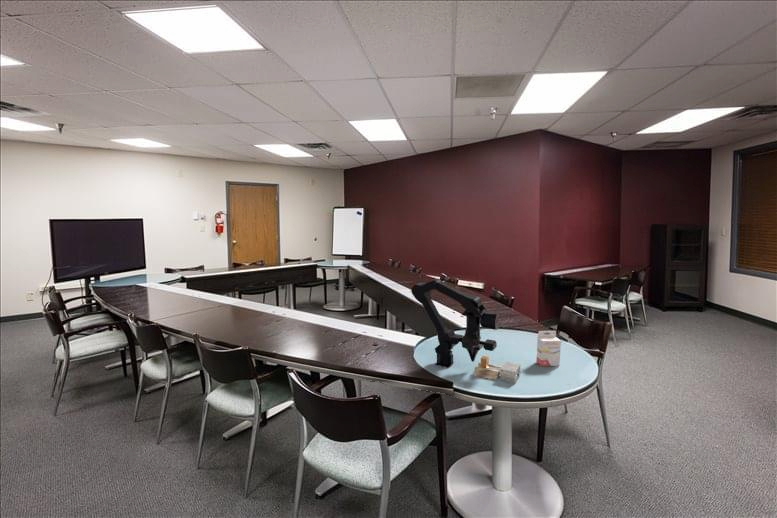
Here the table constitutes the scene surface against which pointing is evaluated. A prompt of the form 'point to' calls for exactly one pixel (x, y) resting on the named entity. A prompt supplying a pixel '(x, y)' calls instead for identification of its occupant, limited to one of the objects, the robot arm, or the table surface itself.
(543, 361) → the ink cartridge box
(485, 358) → the lock bolt
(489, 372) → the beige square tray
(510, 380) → the block
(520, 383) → the table surface
